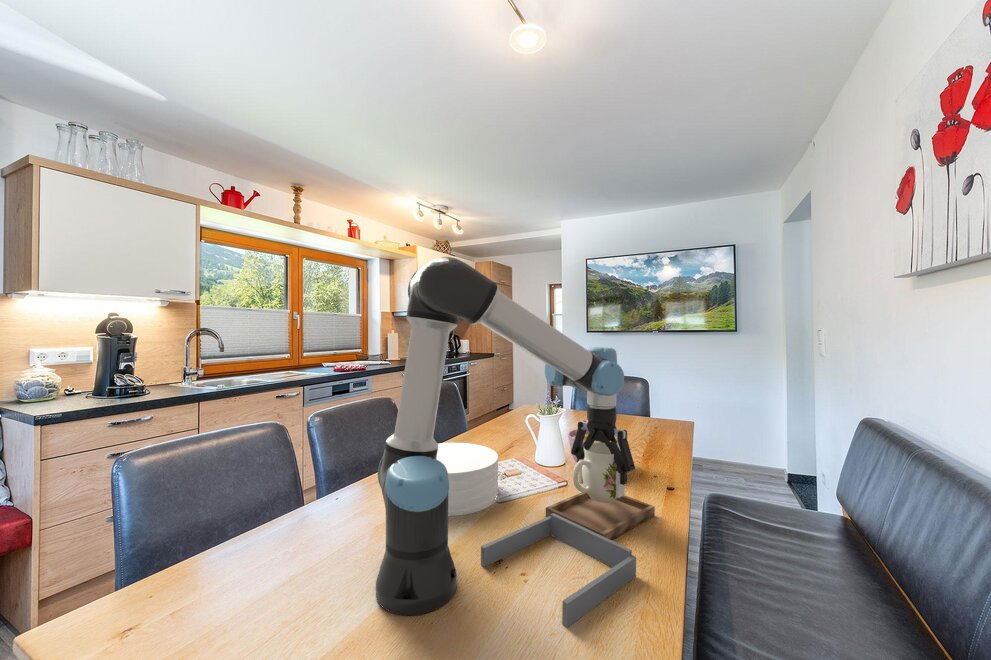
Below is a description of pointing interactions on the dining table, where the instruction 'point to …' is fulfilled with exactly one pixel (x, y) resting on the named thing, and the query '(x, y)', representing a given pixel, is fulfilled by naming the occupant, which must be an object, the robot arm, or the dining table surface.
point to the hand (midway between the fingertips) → (600, 489)
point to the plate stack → (469, 476)
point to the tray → (603, 514)
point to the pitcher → (597, 473)
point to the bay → (581, 540)
